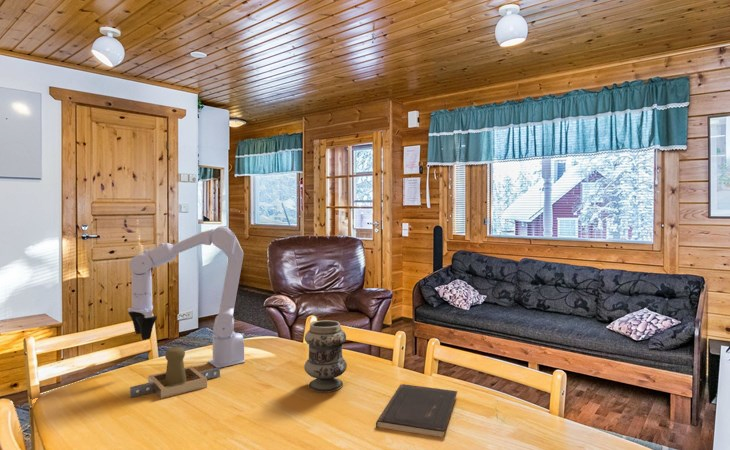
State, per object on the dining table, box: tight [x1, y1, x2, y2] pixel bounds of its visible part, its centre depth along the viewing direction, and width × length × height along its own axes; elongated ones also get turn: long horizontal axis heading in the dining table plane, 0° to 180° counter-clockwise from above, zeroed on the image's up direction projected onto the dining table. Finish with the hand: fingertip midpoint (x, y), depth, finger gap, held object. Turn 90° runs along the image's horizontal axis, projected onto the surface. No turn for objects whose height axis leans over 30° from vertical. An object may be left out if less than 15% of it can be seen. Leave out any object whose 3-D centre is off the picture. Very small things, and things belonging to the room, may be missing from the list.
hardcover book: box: [375, 383, 458, 438], centre depth 118 cm, size 16×23×2 cm
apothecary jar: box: [303, 319, 348, 393], centre depth 134 cm, size 12×12×18 cm
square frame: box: [129, 366, 221, 400], centre depth 134 cm, size 24×12×2 cm, turn 129°
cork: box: [163, 346, 188, 387], centre depth 133 cm, size 6×6×11 cm
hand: (142, 336), depth 146 cm, fingers open, 7 cm apart
